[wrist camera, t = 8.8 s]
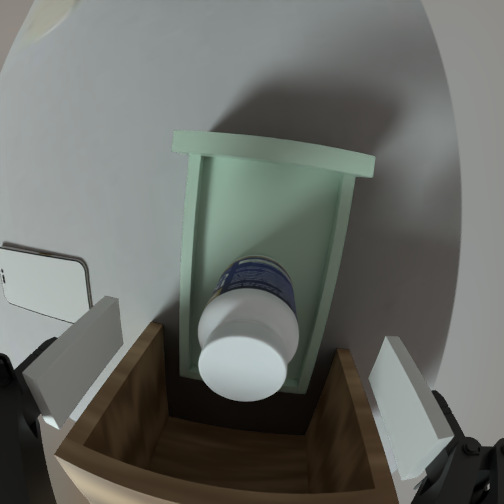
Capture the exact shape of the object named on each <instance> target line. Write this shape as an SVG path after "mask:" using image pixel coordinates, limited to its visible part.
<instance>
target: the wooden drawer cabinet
mask: <svg viewBox="0 0 504 504" xmlns="http://www.w3.org/2000/svg"><path fill="white" fill-rule="evenodd" d="M54 455H55V457H56V458H57V460H58V461H59V463H60V464H61V466H62V467H63V469H64V470H65V471H66V473H67V474H68V475H69V477H70V478H71V480H72V481H73V482H74V484H75V485H76V486H77V487H78V489H79V490H80V491H81V493H82V494H83V495H84V496H85V497H86V499H87V500H88V501H89V502H90V503H91V504H399V501H398V498H397V494H396V490H395V486H394V483H393V479H392V476H391V472H390V469H389V465H388V462H387V459H386V455H385V452H384V449H383V446H382V442H381V439H380V436H379V433H378V430H377V427H376V424H375V421H374V418H373V415H372V412H371V409H370V406H369V403H368V400H367V397H366V394H365V391H364V389H363V386H362V383H361V380H360V377H359V375H358V372H357V369H356V366H355V364H354V361H353V358H352V356H351V353H350V350H349V349H336V352H335V355H334V358H333V362H332V365H331V368H330V371H329V373H328V376H327V379H326V382H325V385H324V388H323V391H322V393H321V396H320V399H319V401H318V404H317V407H316V409H315V412H314V414H313V417H312V419H311V422H310V424H309V427H308V429H307V432H306V434H305V436H303V435H285V434H273V433H262V432H253V431H245V430H238V429H231V428H225V427H218V426H213V425H207V424H202V423H197V422H192V421H188V420H183V419H179V418H175V417H170V416H169V412H168V402H167V390H166V377H165V360H164V338H163V324H159V323H155V322H150V324H149V325H148V326H147V327H146V329H145V330H144V331H143V333H142V334H141V335H140V336H139V338H138V339H137V340H136V342H135V343H134V344H133V346H132V347H131V348H130V350H129V351H128V352H127V353H126V355H125V356H124V357H123V359H122V360H121V361H120V363H119V364H118V365H117V367H116V368H115V369H114V371H113V372H112V373H111V375H110V376H109V378H108V379H107V380H106V382H105V383H104V384H103V386H102V387H101V388H100V390H99V391H98V393H97V394H96V395H95V397H94V398H93V399H92V401H91V402H90V404H89V405H88V406H87V408H86V409H85V411H84V412H83V413H82V415H81V416H80V418H79V419H78V420H77V422H76V423H75V425H74V426H73V428H72V429H71V430H70V432H69V433H68V435H67V436H66V438H65V439H64V441H63V442H62V443H61V445H60V446H59V448H58V449H57V451H56V453H55V454H54Z"/></svg>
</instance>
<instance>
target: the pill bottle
mask: <svg viewBox="0 0 504 504" xmlns="http://www.w3.org/2000/svg"><path fill="white" fill-rule="evenodd" d="M198 339H199V343H200V346H201V349H202V351H201V354H200V357H199V362H198V367H199V372H200V375H201V377H202V379H203V380H204V382H205V383H206V385H207V386H208V387H209V388H210V389H211V390H213V391H214V392H215V393H217V394H219V395H221V396H223V397H225V398H228V399H231V400H235V401H243V402H249V401H257V400H261V399H264V398H267V397H269V396H271V395H273V394H274V393H275V392H277V391H278V390H279V389H280V388H281V387H282V385H283V383H284V382H285V379H286V376H287V364H288V363H289V362H290V361H291V359H292V358H293V356H294V354H295V352H296V350H297V347H298V342H299V329H298V319H297V313H296V305H295V298H294V290H293V284H292V281H291V278H290V275H289V274H288V272H287V270H286V269H285V268H284V267H283V266H282V265H281V264H280V263H279V262H278V261H276V260H274V259H272V258H270V257H267V256H264V255H248V256H244V257H241V258H239V259H237V260H235V261H234V262H232V263H231V264H230V265H229V266H228V267H227V268H226V269H225V271H224V272H223V273H222V275H221V277H220V279H219V281H218V283H217V285H216V287H215V289H214V291H213V293H212V295H211V297H210V299H209V301H208V303H207V305H206V307H205V309H204V311H203V313H202V316H201V318H200V321H199V325H198Z"/></svg>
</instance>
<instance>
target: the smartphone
mask: <svg viewBox="0 0 504 504" xmlns="http://www.w3.org/2000/svg"><path fill="white" fill-rule="evenodd" d="M0 276H1V281H2V286H3V291H4V295H5V298H6V300H7V301H8V302H9V303H10V304H13V305H15V306H18V307H21V308H24V309H27V310H30V311H33V312H36V313H39V314H42V315H45V316H49V317H52V318H55V319H59V320H62V321H65V322H69V323H72V324H74V323H75V322H76V321H77V320H78V319H80V318H81V317H82V316H83V315H84V314H85V313H86V312H87V311H89V310H90V309H91V308H92V305H91V298H90V290H89V281H88V272H87V268H86V265H85V264H84V263H83V262H82V261H81V260H79V259H74V258H68V257H62V256H56V255H50V254H45V253H39V252H34V251H29V250H24V249H18V248H13V247H8V246H2V247H0Z"/></svg>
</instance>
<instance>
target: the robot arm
mask: <svg viewBox="0 0 504 504" xmlns="http://www.w3.org/2000/svg"><path fill="white" fill-rule="evenodd" d="M122 345H123V337H122V329H121V321H120V312H119V301H118V298H113V297H109V296H105V297H104V298H102V299H101V300H100V301H99V302H98V303H97V304H95V305H94V306H93V307H92V308H91V309H90V310H89V311H87V312H86V313H85V314H84V315H83V316H82V317H81V318H80V319H78V320H77V321H76V322H75V323H74V324H73V325H72V326H71V327H70V328H68V329H67V330H66V331H65V332H64V333H63V334H62V335H61V336H60V337H59V338H56V337H53V338H51V339H49V340H46V341H45V342H44V343H42V344H41V345H40V346H39V347H38V349H36V350H35V351H34V352H33V354H31V355H29V356H28V357H27V358H26V359H25V360H24V361H23V362H22V363H21V364H20V365H19V366H18V367H17V368H16V369H15V370H14V369H13V366H12V364H11V361H10V359H9V357H8V356H7V355H5V354H3V353H0V504H57V503H56V500H55V497H54V493H53V490H52V486H51V482H50V478H49V474H48V470H47V465H46V461H45V455H44V451H43V444H42V438H41V431H40V424H39V421H38V419H37V417H38V416H39V415H40V414H42V416H43V418H44V420H45V422H46V423H48V424H50V425H52V426H54V427H56V428H57V429H60V428H61V427H62V426H63V424H64V423H65V421H66V420H67V419H68V417H69V416H70V414H71V413H72V412H73V410H74V409H75V407H76V406H77V405H78V403H79V402H80V400H81V399H82V398H83V396H84V395H85V394H86V392H87V391H88V390H89V388H90V387H91V386H92V384H93V383H94V381H95V380H96V379H97V377H98V376H99V375H100V373H101V372H102V371H103V370H104V368H105V367H106V366H107V364H108V363H109V362H110V360H111V359H112V358H113V356H114V355H115V354H116V353H117V351H118V350H119V349H120V347H121V346H122ZM368 379H369V382H370V385H371V387H372V390H373V393H374V396H375V399H376V401H377V404H378V407H379V410H380V413H381V416H382V419H383V422H384V425H385V428H386V431H387V434H388V437H389V440H390V444H391V447H392V450H393V453H394V457H395V460H396V463H397V467H398V470H399V473H400V477H401V480H406V479H411V478H416V477H418V476H419V475H420V474H421V473H422V472H423V471H424V470H426V473H427V476H426V477H425V478H424V479H423V480H422V481H421V482H420V483H419V484H417V485H416V486H415V488H414V489H417V488H418V487H419V486H420V487H419V489H418V491H417V493H416V495H415V497H414V499H413V501H412V502H411V504H504V438H502V439H500V440H499V441H498V442H497V443H496V444H495V445H494V446H493V447H483V446H481V444H480V443H479V442H478V441H477V440H476V439H474V438H471V437H465V436H464V434H463V432H462V430H461V428H460V426H459V424H458V422H457V420H456V419H455V417H454V415H453V414H452V411H451V410H450V408H449V407H448V404H447V402H446V401H445V399H444V397H443V396H441V394H439V393H438V392H437V391H436V390H433V391H431V390H430V388H429V387H428V385H427V383H426V381H425V379H424V378H423V376H422V374H421V373H420V371H419V369H418V367H417V366H416V364H415V362H414V361H413V359H412V357H411V356H410V354H409V352H408V351H407V349H406V347H405V346H404V344H403V343H402V341H401V339H400V338H399V336H385V339H384V341H383V344H382V347H381V349H380V352H379V354H378V357H377V359H376V361H375V364H374V366H373V368H372V371H371V373H370V375H369V378H368ZM489 483H490V489H489V490H487V485H488V484H489Z"/></svg>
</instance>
